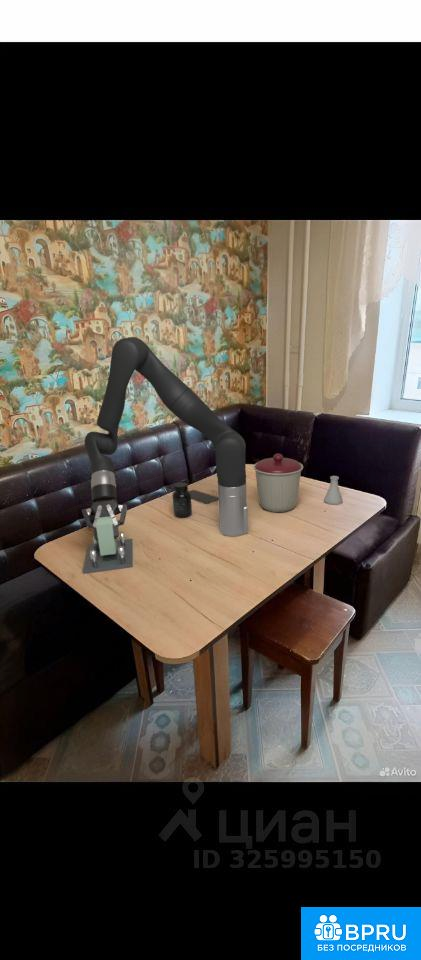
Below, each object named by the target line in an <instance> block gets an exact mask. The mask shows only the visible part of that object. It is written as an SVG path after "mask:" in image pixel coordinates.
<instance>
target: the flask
mask: <svg viewBox="0 0 421 960" xmlns="http://www.w3.org/2000/svg"><path fill="white" fill-rule="evenodd" d="M339 478H340V477H339V476H337V475H332V476H331V475H330V478H329V479H330V483H329V486H328V490H327V491H326V492H327V493H326V494H325V496H324V498H323V503H325V502H326V503H325V504H329V505H336V504H338V505H340V504H343V498H342V494H341V490H340V487H339V481H338V480H339Z"/></svg>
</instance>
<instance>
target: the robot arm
mask: <svg viewBox="0 0 421 960" xmlns="http://www.w3.org/2000/svg"><path fill="white" fill-rule="evenodd" d="M135 371H136V372H137V373H139V374H140V375H141V376H142V377H143V378H144V379H145V380H146V381H147V382H148V383H149V384H150V385H151V387H153V389H154V391H155V392H156V394H157V396H158V398H159V399H160V401H161V402H162V403H163V405H164V406H165V407H166V408H167V409H168V410H169V411H170V412H171V413H172V414H173V415H174V416H176V418H178V419H179V420H180V421H181V422H183V423H184V424H186V425H188V426H189V427H191V428H192V429H195V430H197V432H199V433H201V434H202V435H204V436H205V437H206V438H207V439H208V440H209V441H210V442H211V444H213V446H214V447H215V468H216V471H215V472H216V478H217V491H218V493H217V494H218V496H217V497H219V499H218V514H219V516H218V517H219V531H220V533H221V534H222V535H224V536H227V537H239V536H242V535H245V534H248V533H249V532H248V531H249V528H248V524H249V523H248V522H249V521H248V505H247V474H246V473H247V471H246V468H247V467H246V445H247V444H246V441H245V439H244V438H243V436H242V435H240V433H238V432H237V431H235V430H234V429H233V428H231V427H230V426H229V425H228V424H227V423H225V422H224V421H223V420H222V419H221V418H219V416H217V414H216V413H214V411H213V410H212V409H211V408H210V407H209V406H208V405H207V403H205V402H204V401H203V399H201V397H200V396H199V395H198V394H197V393H195V392H194V391H193V390H192V389H191V388H190V387H189V385H187V384H186V383H185V382H184V381H183V380H181V378H179V376H177V375H176V374H175V373H173V372H172V371H171V369H169V368H168V367H167V366H166V365H165V364H164V363H163V362H162V361H161V360H160V359H159V358H158V357H157V355H156V354H155V353H154V352H153V351H152V349H150V347H149V346H148V345H147V344H146V343H145V341H143V340H142V339H140V338H139V337H135V336H129V337H124V338H121V339H119V340H117V341H116V342H115V343H114V345H113V347H112V351H111V356H110V366H109V374H108V378H107V384H106V387H105V392H104V396H103V400H102V403H101V406H100V408H99V413H98V416H97V419H96V424H97V426H98V427H99V428H100V429H103V430H104V431H106V432H108V433H105V432H100V431H90V432H88V433H87V434H86V435H85V437H84V448H85V451H86V454H87V456H88V459H89V462H90V467H91V480H90V489H91V505H90V508H89V507H88V508H83V509H82V510H81V513H82V515H83V519H84V521H85V523H86V526H87V527H88V529H89V530H91V529H92V530H93V536H94V538H95V540H97V541H98V535H97V529H96V523H97V519H99V518H100V517H109V516H110V517H111V518H113V525H114V526H113V532H114V539H116V540H117V539H118V537H119V533H120V531H119V527H120V526H124V524H125V521H126V515H127V512H128V506H127V504H119V503H118V500H117V499H118V498H117V484H116V477H115V468H114V466H115V465H114V461H113V460H114V459H112V458H111V457H109V456H111V455H113V454H115V453H116V451H117V449H118V436H119V435H118V434H119V433H118V432H119V426H120V423H121V420H122V418H123V417H122V416H123V414H124V410H125V404H126V397H127V396H126V394H127V390H128V389H127V388H128V387H129V382H130V380H131V378H132V377H133V374H134V372H135ZM118 510H119V512H120V516H119V520H117V518H116V515H115V514H116V513H117V511H118ZM91 513H93V514H94V515H95V516H94V521H93V523H92V522H91V519H90V516H91Z"/></svg>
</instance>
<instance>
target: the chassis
mask: <svg viewBox="0 0 421 960" xmlns="http://www.w3.org/2000/svg"><path fill="white" fill-rule="evenodd" d="M118 537H119V539H118V540H117V539H116V543H117V548H116V554H110V555H102V556H101V554H100V548H99V542H98V541H97V540H95V538H94V535H92V541H93V543H89V544H88V545H87V550H86V555H85V557H84V558H85V560H84V564H83V569H82V573H83V574H84V575H85V574H90V573H91V574H92V573H100V572H107V571H108V572H109V571H114V570H115V571H116V570H121V569H122V570H123V569H129V568H134V545H133V544H134V541H133V538H126V537H125V532H124V531H119V536H118Z"/></svg>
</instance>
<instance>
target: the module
mask: <svg viewBox="0 0 421 960" xmlns="http://www.w3.org/2000/svg"><path fill="white" fill-rule="evenodd" d="M113 526H114V525H113V518H111V517H110V516H109V517H100V518H99V519H97V523H96V529H97V535H98V542H99V548H100V554H101V556H102V555H110V554H116V548H117V543H116V541H117V539H114V532H113Z"/></svg>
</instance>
